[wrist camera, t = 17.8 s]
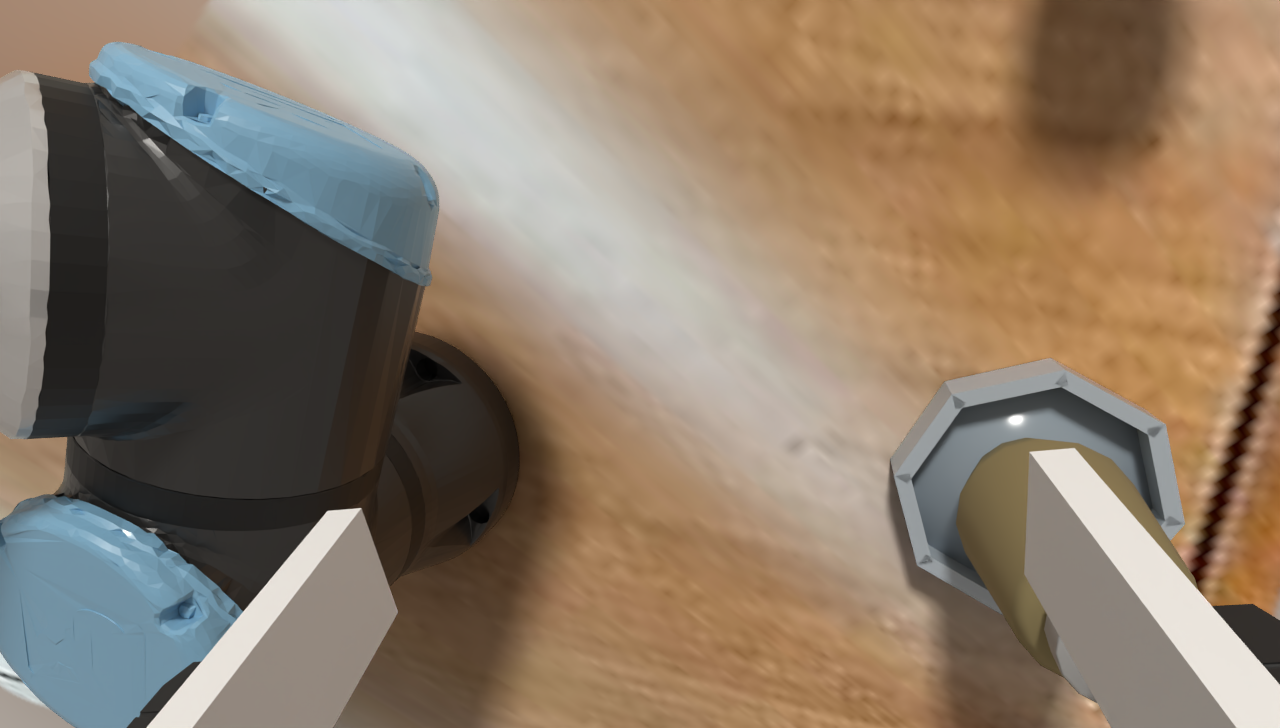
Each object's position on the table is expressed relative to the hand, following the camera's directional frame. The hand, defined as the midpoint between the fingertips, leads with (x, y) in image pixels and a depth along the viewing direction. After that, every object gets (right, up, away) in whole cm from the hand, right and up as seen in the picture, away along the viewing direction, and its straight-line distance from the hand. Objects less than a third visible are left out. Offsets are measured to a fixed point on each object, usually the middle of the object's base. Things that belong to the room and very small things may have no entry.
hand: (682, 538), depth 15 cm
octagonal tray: (+20, -3, +25) cm, 32 cm away
